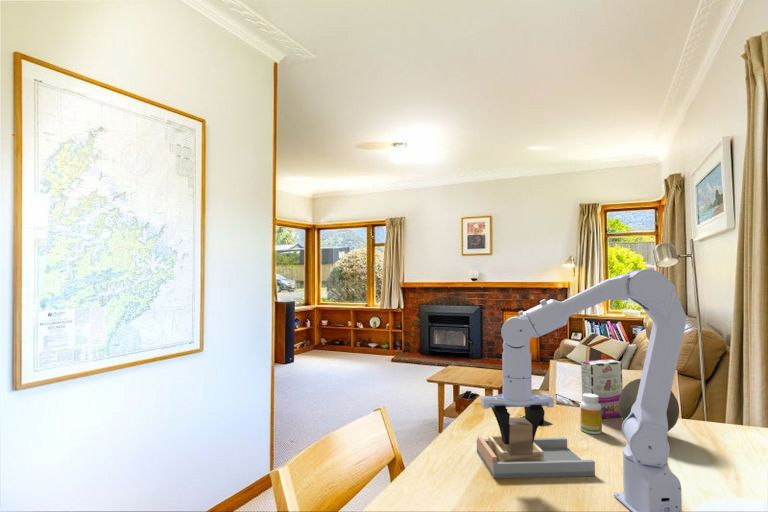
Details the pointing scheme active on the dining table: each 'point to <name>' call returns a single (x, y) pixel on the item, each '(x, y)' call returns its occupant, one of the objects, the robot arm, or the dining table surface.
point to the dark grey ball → (630, 396)
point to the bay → (554, 465)
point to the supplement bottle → (590, 414)
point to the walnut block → (519, 437)
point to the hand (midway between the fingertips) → (517, 442)
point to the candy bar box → (603, 384)
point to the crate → (504, 456)
